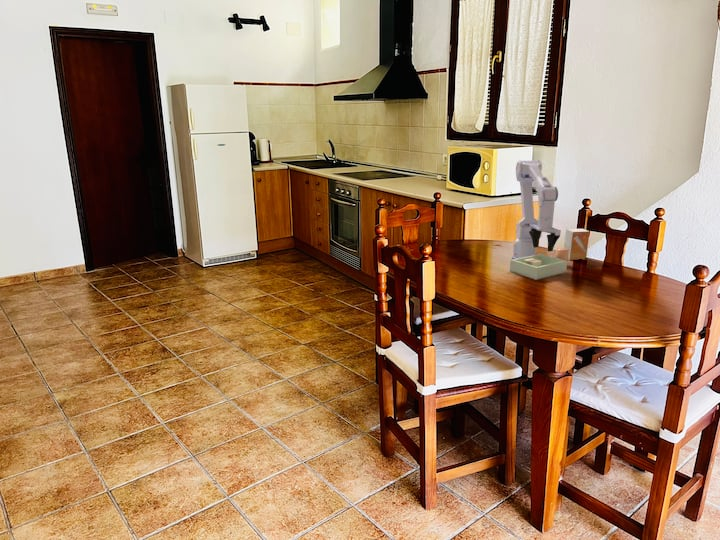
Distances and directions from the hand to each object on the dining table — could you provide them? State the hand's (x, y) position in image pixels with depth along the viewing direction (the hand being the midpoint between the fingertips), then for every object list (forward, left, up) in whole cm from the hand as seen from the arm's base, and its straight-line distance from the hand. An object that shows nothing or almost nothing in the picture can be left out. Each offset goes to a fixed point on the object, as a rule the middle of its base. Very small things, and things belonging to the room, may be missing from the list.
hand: (542, 249), depth 225 cm
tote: (+1, -3, -9) cm, 10 cm away
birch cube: (+1, -7, -9) cm, 11 cm away
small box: (-5, +28, -10) cm, 30 cm away
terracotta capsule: (-1, +14, -9) cm, 17 cm away
